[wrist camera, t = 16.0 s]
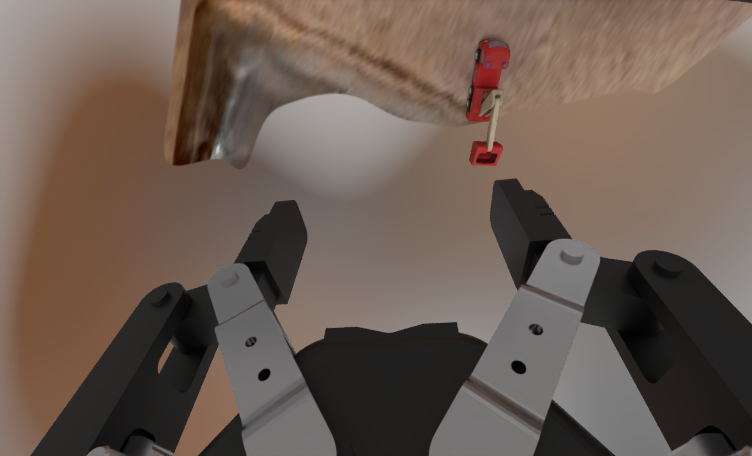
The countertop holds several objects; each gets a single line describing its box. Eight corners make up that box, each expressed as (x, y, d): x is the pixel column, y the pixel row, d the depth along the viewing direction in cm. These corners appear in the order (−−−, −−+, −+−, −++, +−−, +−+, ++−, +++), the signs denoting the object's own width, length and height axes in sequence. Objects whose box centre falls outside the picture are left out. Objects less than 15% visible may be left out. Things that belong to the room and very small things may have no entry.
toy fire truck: (504, 37, 39) (531, 51, 32) (480, 139, 48) (497, 168, 40) (478, 37, 39) (499, 50, 32) (459, 139, 48) (472, 168, 40)
